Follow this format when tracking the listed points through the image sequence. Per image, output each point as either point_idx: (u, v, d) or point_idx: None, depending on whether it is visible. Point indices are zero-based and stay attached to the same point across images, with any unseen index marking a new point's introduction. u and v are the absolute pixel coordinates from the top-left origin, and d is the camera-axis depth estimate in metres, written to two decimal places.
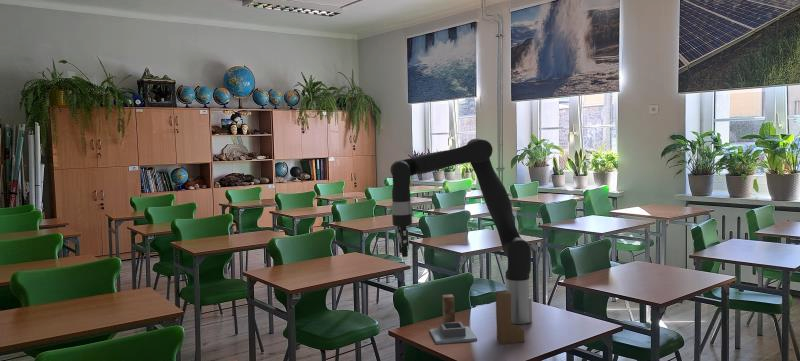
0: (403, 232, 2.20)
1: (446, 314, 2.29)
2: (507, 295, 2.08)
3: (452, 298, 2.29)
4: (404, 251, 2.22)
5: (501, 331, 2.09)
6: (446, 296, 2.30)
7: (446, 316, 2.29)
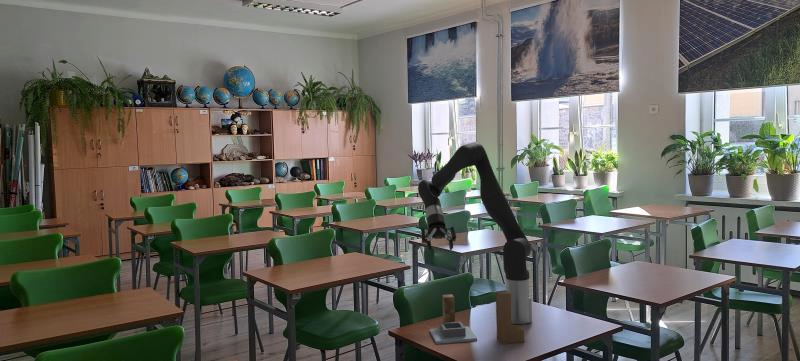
0: (421, 231, 2.48)
1: (446, 314, 2.29)
2: (507, 295, 2.08)
3: (452, 298, 2.29)
4: (427, 245, 2.43)
5: (501, 331, 2.09)
6: (446, 296, 2.30)
7: (446, 316, 2.29)
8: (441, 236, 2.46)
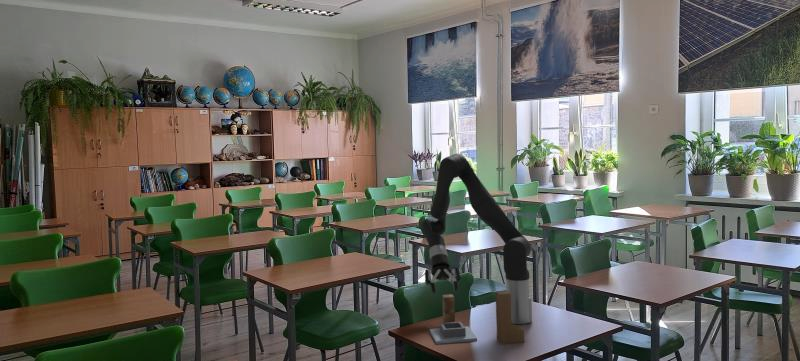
0: None
1: (446, 314, 2.29)
2: (507, 295, 2.08)
3: (452, 298, 2.29)
4: (431, 288, 2.39)
5: (501, 331, 2.09)
6: (446, 296, 2.30)
7: (446, 316, 2.29)
8: (445, 277, 2.41)
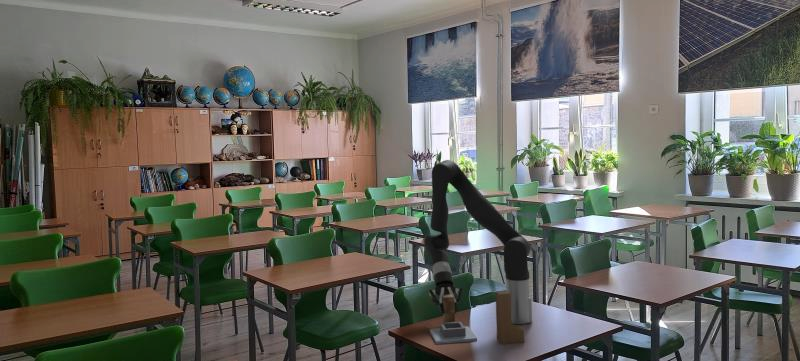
0: (429, 294, 2.36)
1: (446, 314, 2.29)
2: (507, 295, 2.08)
3: (452, 298, 2.29)
4: None
5: (501, 331, 2.09)
6: (446, 296, 2.30)
7: (446, 316, 2.29)
8: None
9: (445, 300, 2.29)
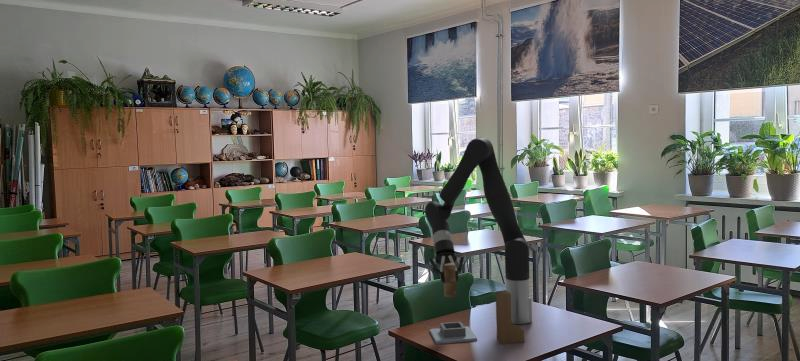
0: (429, 263, 2.27)
1: (447, 283, 2.21)
2: (507, 295, 2.08)
3: (453, 266, 2.20)
4: (440, 277, 2.23)
5: (501, 331, 2.09)
6: (447, 264, 2.22)
7: (447, 285, 2.21)
8: None
9: (445, 268, 2.20)
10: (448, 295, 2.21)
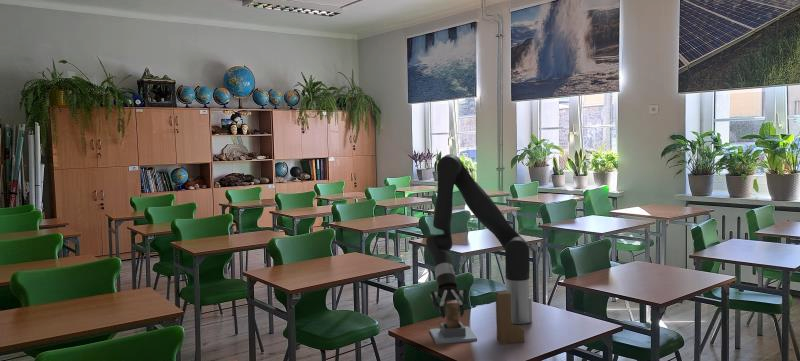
0: None
1: (449, 321, 2.17)
2: (507, 295, 2.08)
3: (455, 304, 2.17)
4: (440, 312, 2.19)
5: (501, 331, 2.09)
6: (449, 302, 2.18)
7: (449, 323, 2.17)
8: (451, 299, 2.22)
9: (448, 306, 2.17)
10: None
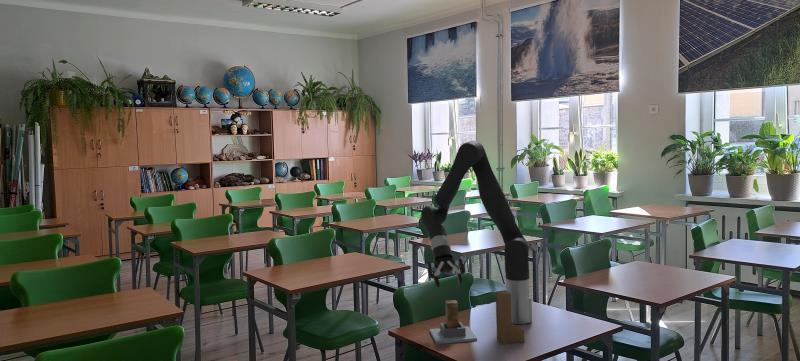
0: (427, 265, 2.32)
1: (449, 321, 2.17)
2: (507, 295, 2.08)
3: (455, 304, 2.17)
4: (434, 281, 2.28)
5: (501, 331, 2.09)
6: (449, 302, 2.18)
7: (449, 323, 2.17)
8: (449, 270, 2.30)
9: (448, 306, 2.17)
10: None
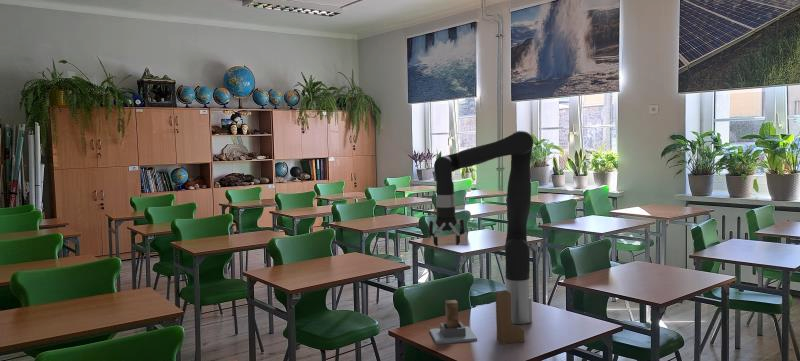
0: (429, 222, 2.39)
1: (449, 321, 2.17)
2: (507, 295, 2.08)
3: (455, 304, 2.17)
4: (433, 240, 2.39)
5: (501, 331, 2.09)
6: (449, 302, 2.18)
7: (449, 323, 2.17)
8: None
9: (448, 306, 2.17)
10: None
